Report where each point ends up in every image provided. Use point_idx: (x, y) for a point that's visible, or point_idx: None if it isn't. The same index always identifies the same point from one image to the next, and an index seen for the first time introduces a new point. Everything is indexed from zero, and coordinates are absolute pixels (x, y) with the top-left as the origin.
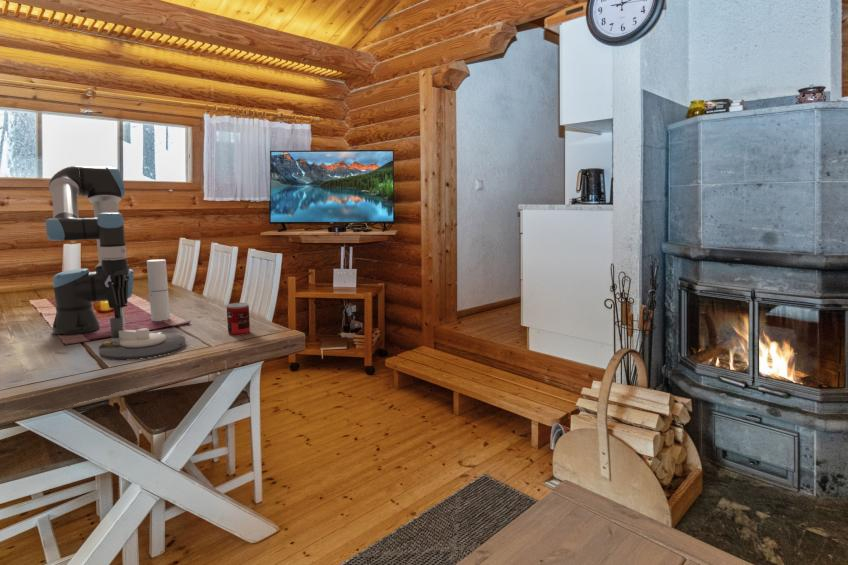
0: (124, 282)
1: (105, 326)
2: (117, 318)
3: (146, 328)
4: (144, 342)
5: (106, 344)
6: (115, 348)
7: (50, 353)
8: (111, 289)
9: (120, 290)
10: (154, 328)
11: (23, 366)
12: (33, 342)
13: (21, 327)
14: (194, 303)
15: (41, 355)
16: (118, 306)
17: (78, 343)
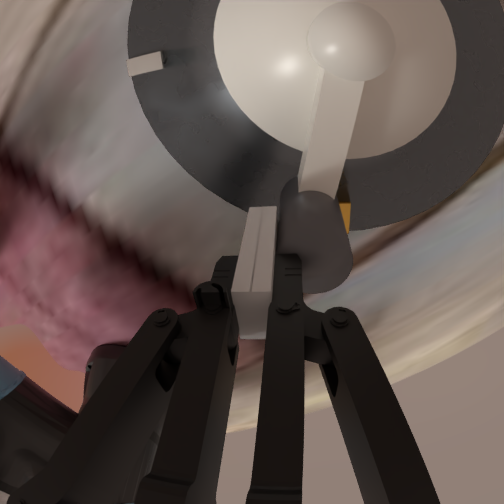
0: (80, 495)
1: (83, 338)
2: (319, 253)
3: (312, 29)
4: (427, 5)
5: (367, 210)
6: (440, 137)
7: (372, 338)
8: (430, 492)
9: (203, 454)
10: (34, 201)
11: (478, 324)
12: (257, 402)
13: None
14: None
15: (388, 345)
16: (304, 315)
17: None
